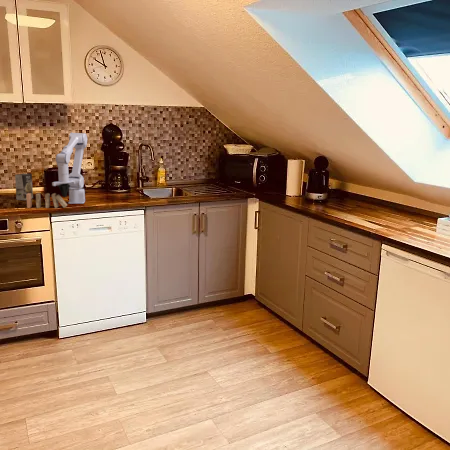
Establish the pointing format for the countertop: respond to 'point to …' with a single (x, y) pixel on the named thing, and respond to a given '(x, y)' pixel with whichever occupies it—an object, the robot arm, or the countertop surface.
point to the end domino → (29, 200)
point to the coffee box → (23, 186)
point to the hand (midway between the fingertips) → (64, 196)
